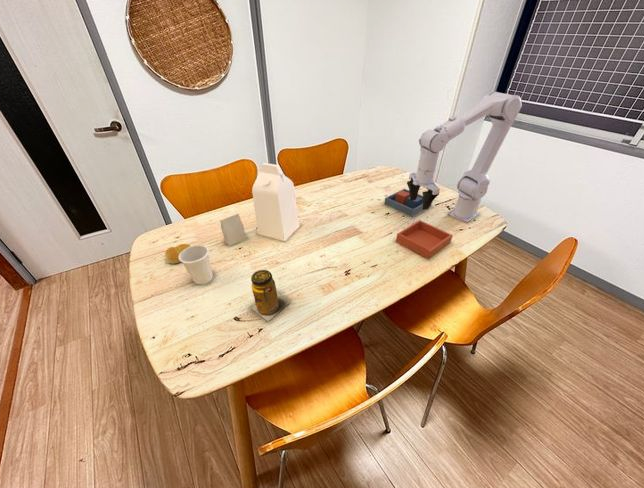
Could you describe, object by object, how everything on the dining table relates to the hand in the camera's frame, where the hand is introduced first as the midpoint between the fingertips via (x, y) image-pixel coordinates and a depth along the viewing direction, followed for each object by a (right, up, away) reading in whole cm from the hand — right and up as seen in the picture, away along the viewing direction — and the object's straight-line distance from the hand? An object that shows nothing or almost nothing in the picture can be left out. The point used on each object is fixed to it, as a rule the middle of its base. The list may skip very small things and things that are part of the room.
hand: (419, 204), depth 102 cm
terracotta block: (-1, +4, +20) cm, 21 cm away
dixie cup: (-73, -26, -14) cm, 79 cm away
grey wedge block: (-68, -13, +1) cm, 69 cm away
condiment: (-50, -33, -24) cm, 64 cm away
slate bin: (+1, +2, +19) cm, 19 cm away
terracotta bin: (+1, -14, -2) cm, 14 cm away
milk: (-53, -9, +6) cm, 54 cm away
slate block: (+3, +2, +17) cm, 17 cm away
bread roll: (-85, -19, -6) cm, 87 cm away
